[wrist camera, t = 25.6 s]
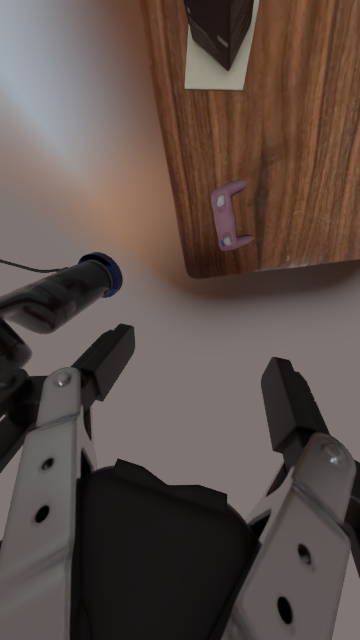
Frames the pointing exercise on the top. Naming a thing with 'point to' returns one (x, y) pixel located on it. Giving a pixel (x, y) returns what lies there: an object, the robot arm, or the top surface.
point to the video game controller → (227, 216)
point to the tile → (218, 64)
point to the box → (219, 26)
